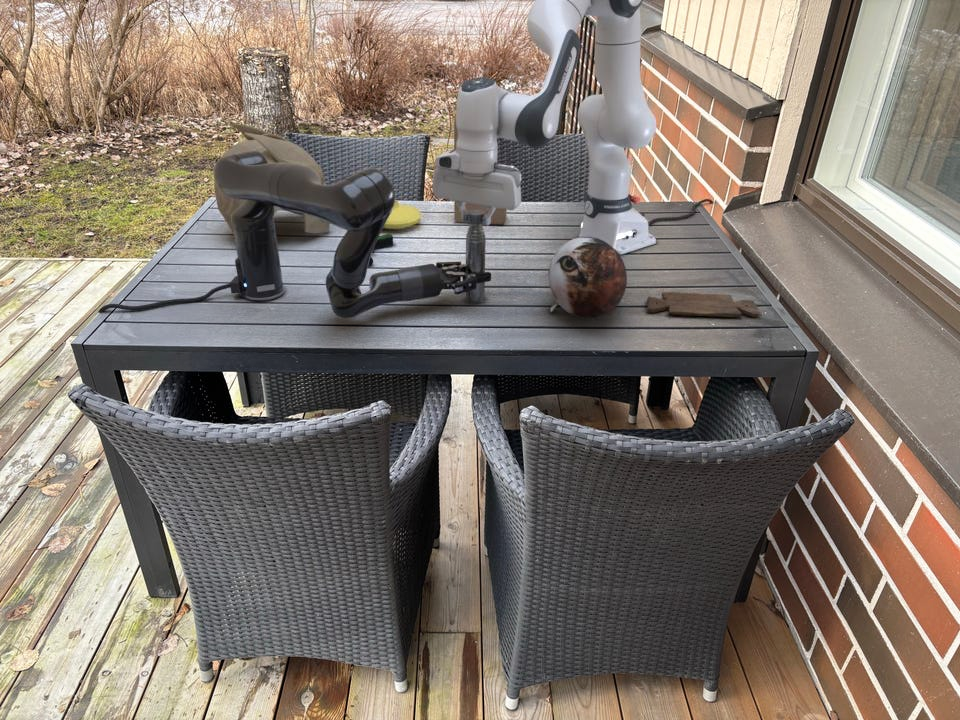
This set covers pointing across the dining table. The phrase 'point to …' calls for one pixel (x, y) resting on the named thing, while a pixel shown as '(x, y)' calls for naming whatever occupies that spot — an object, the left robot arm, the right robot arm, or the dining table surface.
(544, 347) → the dining table surface
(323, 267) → the dining table surface
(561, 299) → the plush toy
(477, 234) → the bottle
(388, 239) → the handgun
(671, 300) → the dark wooden board
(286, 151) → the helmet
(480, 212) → the cap
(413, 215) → the yellow domed disc
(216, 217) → the dining table surface
